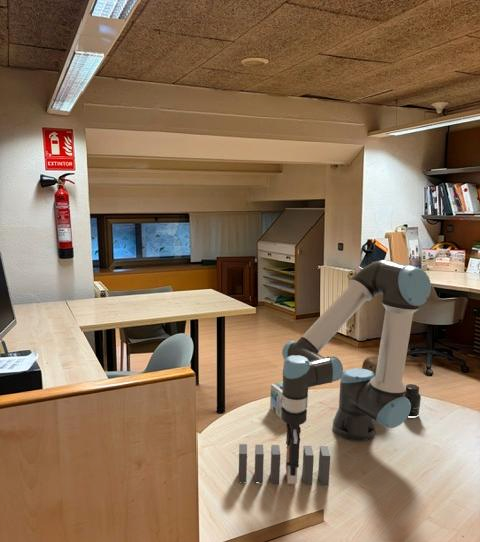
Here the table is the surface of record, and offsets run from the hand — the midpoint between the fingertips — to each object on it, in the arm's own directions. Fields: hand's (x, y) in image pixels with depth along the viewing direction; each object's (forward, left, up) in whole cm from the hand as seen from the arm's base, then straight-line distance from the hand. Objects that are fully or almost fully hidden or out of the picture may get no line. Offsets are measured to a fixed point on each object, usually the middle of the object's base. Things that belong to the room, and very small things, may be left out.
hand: (291, 476), depth 141 cm
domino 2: (+10, 0, -1) cm, 10 cm away
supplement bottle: (-51, -41, -1) cm, 65 cm away
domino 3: (+5, 0, -1) cm, 5 cm away
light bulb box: (-1, -40, -1) cm, 40 cm away
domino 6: (-10, 0, -1) cm, 10 cm away
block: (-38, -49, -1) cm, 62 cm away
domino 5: (-5, 0, -1) cm, 5 cm away
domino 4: (0, 0, -1) cm, 1 cm away
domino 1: (+15, 0, -1) cm, 15 cm away
